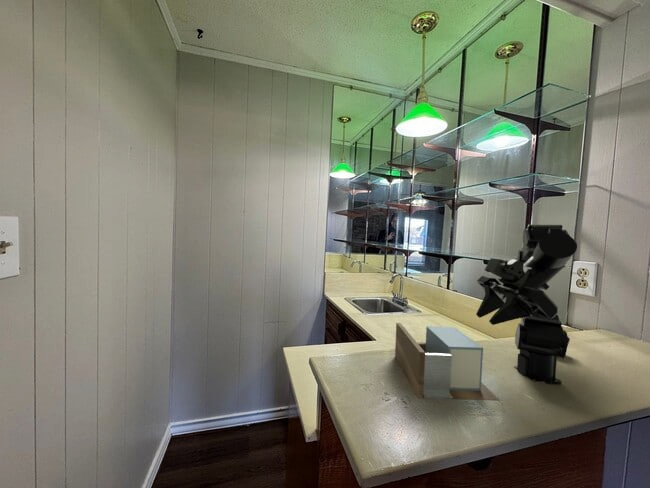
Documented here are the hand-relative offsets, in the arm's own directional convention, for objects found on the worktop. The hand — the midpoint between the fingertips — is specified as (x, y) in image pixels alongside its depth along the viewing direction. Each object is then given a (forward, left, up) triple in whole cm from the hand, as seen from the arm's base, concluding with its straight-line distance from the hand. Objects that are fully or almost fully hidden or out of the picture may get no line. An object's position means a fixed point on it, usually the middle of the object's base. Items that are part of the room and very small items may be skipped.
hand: (484, 319), depth 60 cm
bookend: (+14, +8, -13) cm, 20 cm away
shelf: (+10, 0, -14) cm, 17 cm away
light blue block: (+7, 0, -13) cm, 15 cm away
